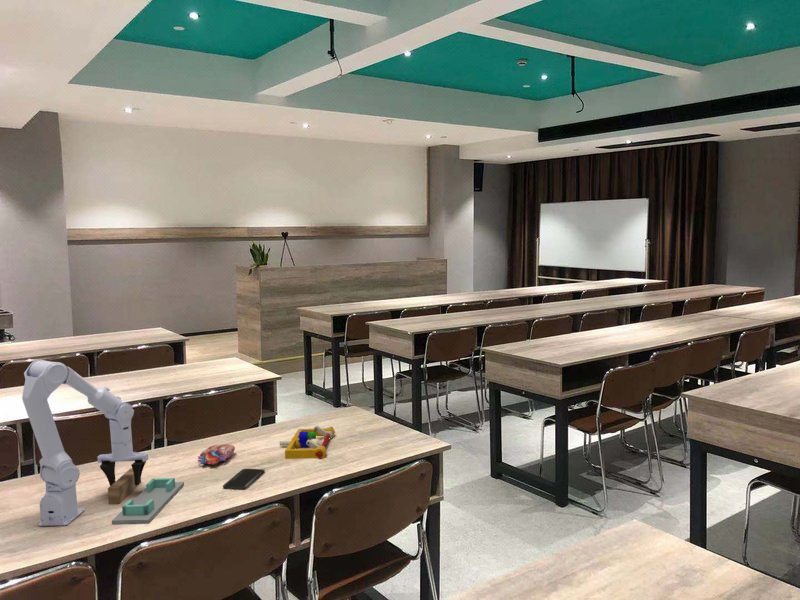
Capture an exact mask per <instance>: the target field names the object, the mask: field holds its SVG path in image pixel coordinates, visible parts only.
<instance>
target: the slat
mask: <svg viewBox="0 0 800 600" xmlns="http://www.w3.org/2000/svg"><path fill="white" fill-rule="evenodd" d="M141 483H142V479H141V480H140V484H141ZM140 484H138V485H135V482H134V473H133V469H132V467H129V469H127V471H126V472H124V474H122V475H121V476H120V477H119V478H118V479H117V480H115V483H113V484H112V485H111V486H110V485H109V487H108V488H107V497H108V498H107V499H108V505H120V504H121V503H122V502H123V501H124V500H125V499H126V498H127V497H128V496H130V494H132V493H133V491H134V490H135V489H136V488H138V486H139V485H140Z"/></svg>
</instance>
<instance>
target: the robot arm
mask: <svg viewBox="0 0 800 600" xmlns="http://www.w3.org/2000/svg"><path fill="white" fill-rule="evenodd" d="M23 375H24V379H25V381H24V385H23V391H22V397H21V399H22V402H23V405H24V408H25V409H24V410H25V412H26V414H27V416H28V419H29V423H30V425H31V429H32V431H33V434H34V436H35V440H36V442H37V445H38V448H39V451H40V454H41V458H40V459H39V461H38V462H39V465H40V469H39V477H40V479H41V480H42V481H43V482H45V494H44V495H43V497H42V498H41V499H40V501H39V511H40V514H39V515H40V522H39V523H38V527H42V526H45V527H49V526H51V527H53V526H67V525H69V524H70V523H71V522H73V521H74V520H75V519H76V518H78V517H79V516H80V515H81V514H82V513H83V512H84V511H85V508H79V507H78V498H77V488H76V485H77V483H78V481H79V478H80V475H81V474H80V469H79V467H77V466H76V465H75V464H74V463H73V459H72V458H71V457H70V456H69V454H68V453H67V451H65V448H64V445H63V442H62V440H61V437H60V436H61V435H59V431H58V428H57V424H56V422H55V419H54V416H53V413H52V410H51V407H50V404H49V401H48V399H49V397H50V396H51V394H53V393H54V391H56V390H57V389H58V388H59V387H60V386H61V385H67V386H69V387H70V388H72V389H74V390H75V391H77V392H79V393H80V394H82V395H84V396H85V397H87V402H88V404H89V405H90V406H92V407H94V409H96V410H97V411H100V412H101V413H102V414H103V415H104V417H105V418H106V419H108V420H109V431H110V442H111V443H110V445H111V453H106V454H105V453H104V454H103V453H102V454H99V455H98V456H97V464H100V463H101V464H100V465H99V468H100V470H101V471H102V472H103V474H104V475H105V477H106V478H107V481H108V485H109V487H110V486H111V485H112V484H113V483H115V482H116V462H118V463H119V462H133V463H131V465H130V466H131V468H132V469H133V473H134V482H135V485H138V484H139V485H140V484H141V483H140V480H141V481H142V475H143V471H144V467H145V465H146V463H147V462H148V460H149V453H148V452H138V451H137V452H136V451H133V450H134V449H133V437H132V419H133V417H134V415H135V414H134V413H135V409H133V407H132V405H131V404H130V403H129V402H126V401H122V397H120V396H119V395H118V396H116V395H114V394H113V393H112V392H111V391H110V390H111V389H110V388H108V387H107V386H98V387H95V386H94V385H93V384H92V383H90V382H89V381H88V380H86V379H85V378H84V377H83V376H81V375H80V374H78V372H76V371H75V370H73V369H72V368H71V367H69V366H66V364H64V363H63V362H59V361H49V360H45V359H36V360H33V361H32V362H31V363H30V364H29V365H28V367H27V368H26V370H25V371H24V372H23ZM139 485H138V486H139Z"/></svg>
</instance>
